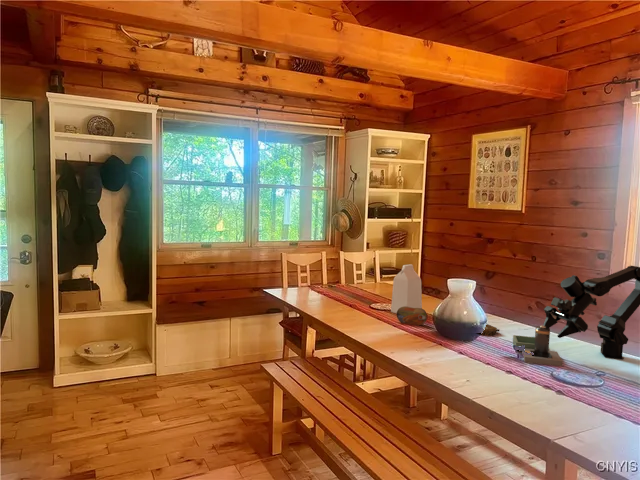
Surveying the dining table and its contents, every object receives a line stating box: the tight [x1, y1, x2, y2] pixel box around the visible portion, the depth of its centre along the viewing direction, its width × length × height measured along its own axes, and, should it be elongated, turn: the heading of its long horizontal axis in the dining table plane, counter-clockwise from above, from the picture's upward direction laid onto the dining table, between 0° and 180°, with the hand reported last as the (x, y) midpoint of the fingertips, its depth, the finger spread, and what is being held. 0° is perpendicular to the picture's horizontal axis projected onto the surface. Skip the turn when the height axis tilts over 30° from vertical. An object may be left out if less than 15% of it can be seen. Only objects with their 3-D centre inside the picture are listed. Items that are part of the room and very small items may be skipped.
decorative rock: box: [482, 323, 500, 337], centre depth 211 cm, size 11×4×15 cm
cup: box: [512, 334, 535, 349], centre depth 187 cm, size 11×11×4 cm
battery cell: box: [534, 324, 551, 358], centre depth 174 cm, size 5×5×13 cm
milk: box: [390, 264, 423, 314], centre depth 242 cm, size 12×12×26 cm
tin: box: [396, 306, 428, 326], centre depth 221 cm, size 15×3×8 cm, turn 62°
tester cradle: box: [523, 348, 564, 367], centre depth 174 cm, size 13×11×2 cm
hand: (550, 333), depth 174 cm, fingers open, 9 cm apart
